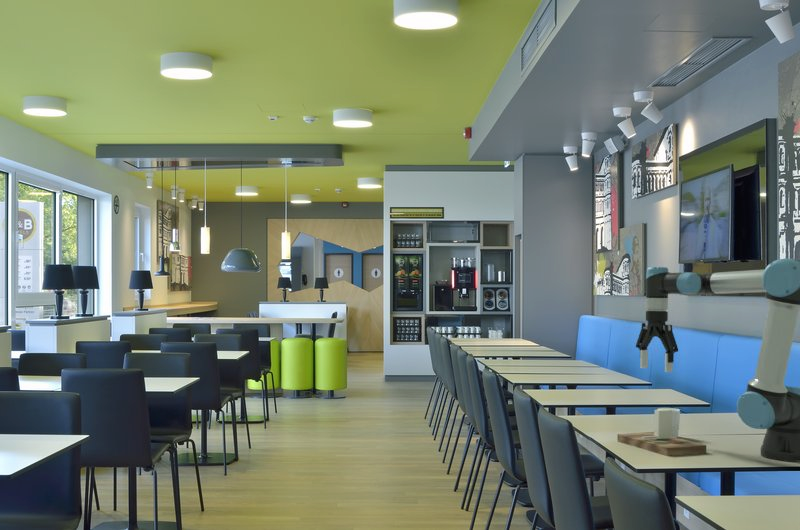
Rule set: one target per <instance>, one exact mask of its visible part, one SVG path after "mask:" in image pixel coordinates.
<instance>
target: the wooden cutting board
mask: <svg viewBox="0 0 800 530" xmlns="http://www.w3.org/2000/svg"><path fill="white" fill-rule="evenodd" d="M645 436H654V431H647V432H630V433H617V439H616V440H617V442H619V443H622V444H625V445H629V446H633V447H636V448H639V449H642V450H646V451H649V452H653V453H656V454H659V455H664V456H666V455H667V456H666V457H671V456H670V455H672V456H682V455H683V454H686V455H696V453H699V454H707V444H706V445H705V444H702V443H698V442H694V441H691V440H688V439H684V438H681V437H678V438H676V437H672V438H665V439H657V438H648V439H643V438H642V437H645Z"/></svg>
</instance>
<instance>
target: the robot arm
mask: <svg viewBox="0 0 800 530" xmlns="http://www.w3.org/2000/svg"><path fill="white" fill-rule="evenodd" d="M645 275H646V276H645V286H646V287H645V288H646V289H645V291H646V292H645V293H646V294H645V296H646V297H645V309H646V311H645V321H646V322H642V323H641V328H640V332H639V335H638V338H637V341H636V344H635V348H636V349H637V348H638V350H639V359H640V362H639V363H640V365H639V366H640V367H639V368H640V369H648V367H649V366H648V365H649V363H648V361H649V349H648V347H649V345H650V343H651V341H652V340H653V338H655V337H657V338H658V339H659V340H660V341H661V344H662V346H663V347H664V350H665V353H664V355H665V356H664V373H673V371H674V368H673V367H674V366H673V365H674V361H675V360H674V357H675V356H674V355H675V353H677V352H679V348H678V344H677V341H676V338H675V335H674V332H673V325H672V324H666V322H668V321H669V320H668V319H669V312H668V311H667V310H668V308H669V305H668V304H669V303H668V302H669V300H668V299H669V295H685V296H686V295H689V296H691V295H703V296H704V295H705V296H706V295H708V296H711V295H720V294H745V293H748V294H749V293H751V294H752V293H765V296H764V298H765V300H766V302H767V303H768V309H767V315H766V319H765V325H764V329H763V334H762V339H761V344H760V349H759V353H758V358H757V363H756V369H755V373H754V377H753V378H751V379H750V380H748V382H747V387H746V391H745V392H744V393H742V394H741V395H740V396H739V397H738V399H737V402H736V412H737V414H738V417H739V418H740V419H741V421H742V422H743V424H745V425H746V426H748V427H749V428H752V429H754V430H755V429H757V430H766V432H765V433H764V434H765V435H764V438H763V441H762V444H761V445H760V456H762V457H764V458H768V459H772V460H777V459H778V460H777V461H785V460H787V461H788V462H800V387H798V386H797V387H796V386H790V385H789V386H788V385H785V384H784V383H785V380H786V374H787V369H788V364H789V362H790V361H789V359H790V355H791V350H792V345H793V342H794V336H795V331H796V327H797V321H798V317H799V313H800V258H799V259H797V258H788V257H787V258H779V259H777V260H773V261H772V262H771V263H769V264H768V265H767V266H766V267H765V269H751V270H738V271H737V270H736V271H735V270H733V271H722V272H706V273H703V272H702V273H701V272H699V273H697V272H689V271H688V272H687V271H685V272H669V268H668V267H666V266H649V267H647V268H646V274H645Z"/></svg>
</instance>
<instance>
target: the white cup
mask: <svg viewBox="0 0 800 530" xmlns="http://www.w3.org/2000/svg"><path fill="white" fill-rule="evenodd" d="M662 409H669V410H672V437H676V438H679V430H680V422H681V421H680V419H681V418H680V417H681V409H679V408H674V407H658V408H657V410H662Z"/></svg>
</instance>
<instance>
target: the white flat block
mask: <svg viewBox="0 0 800 530" xmlns="http://www.w3.org/2000/svg"><path fill="white" fill-rule="evenodd" d="M653 427H654V428H653V429H654V430H653V432H654V436H645V437H642V438H643V439H648V438H657V439H665V438H672V410H669V409H662V410H658V409H654V426H653Z"/></svg>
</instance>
